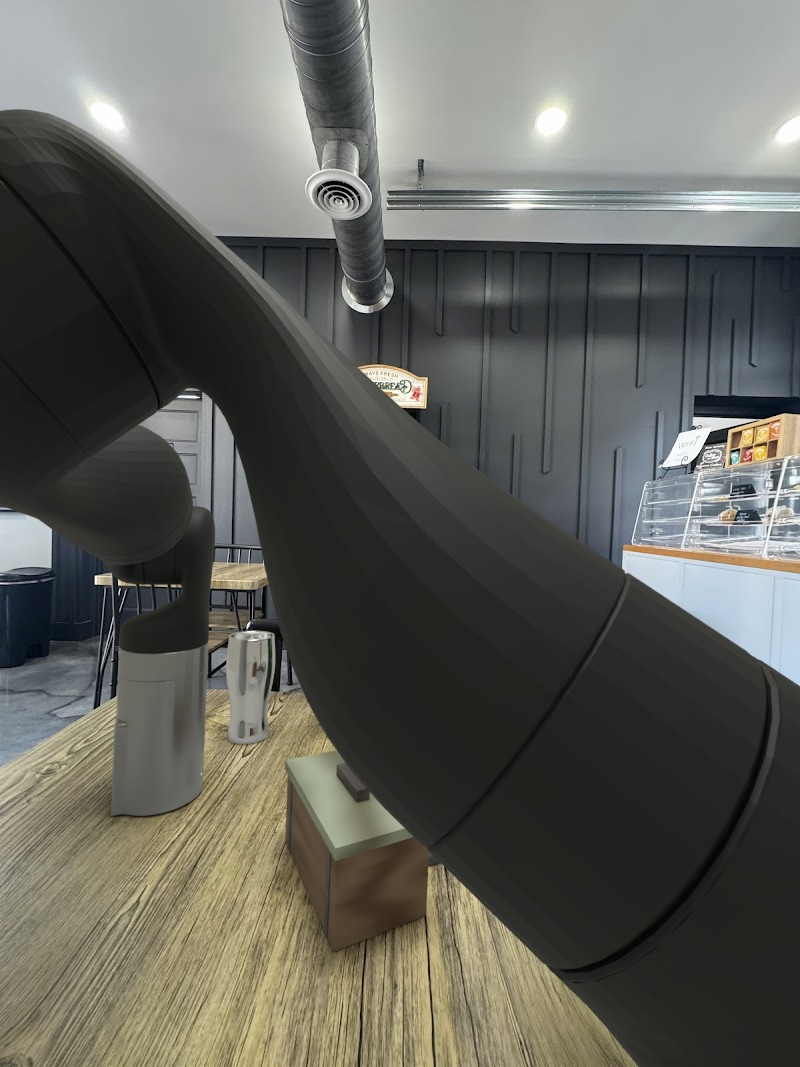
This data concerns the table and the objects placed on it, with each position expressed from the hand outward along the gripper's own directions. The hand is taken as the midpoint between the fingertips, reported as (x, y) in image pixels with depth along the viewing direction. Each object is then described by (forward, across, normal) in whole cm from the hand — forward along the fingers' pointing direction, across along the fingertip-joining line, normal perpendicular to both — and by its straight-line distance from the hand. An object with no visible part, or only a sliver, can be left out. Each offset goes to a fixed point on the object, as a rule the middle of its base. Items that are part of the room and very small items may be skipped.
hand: (558, 662), depth 39 cm
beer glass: (+30, -36, -21) cm, 51 cm away
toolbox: (+3, -17, -21) cm, 27 cm away
